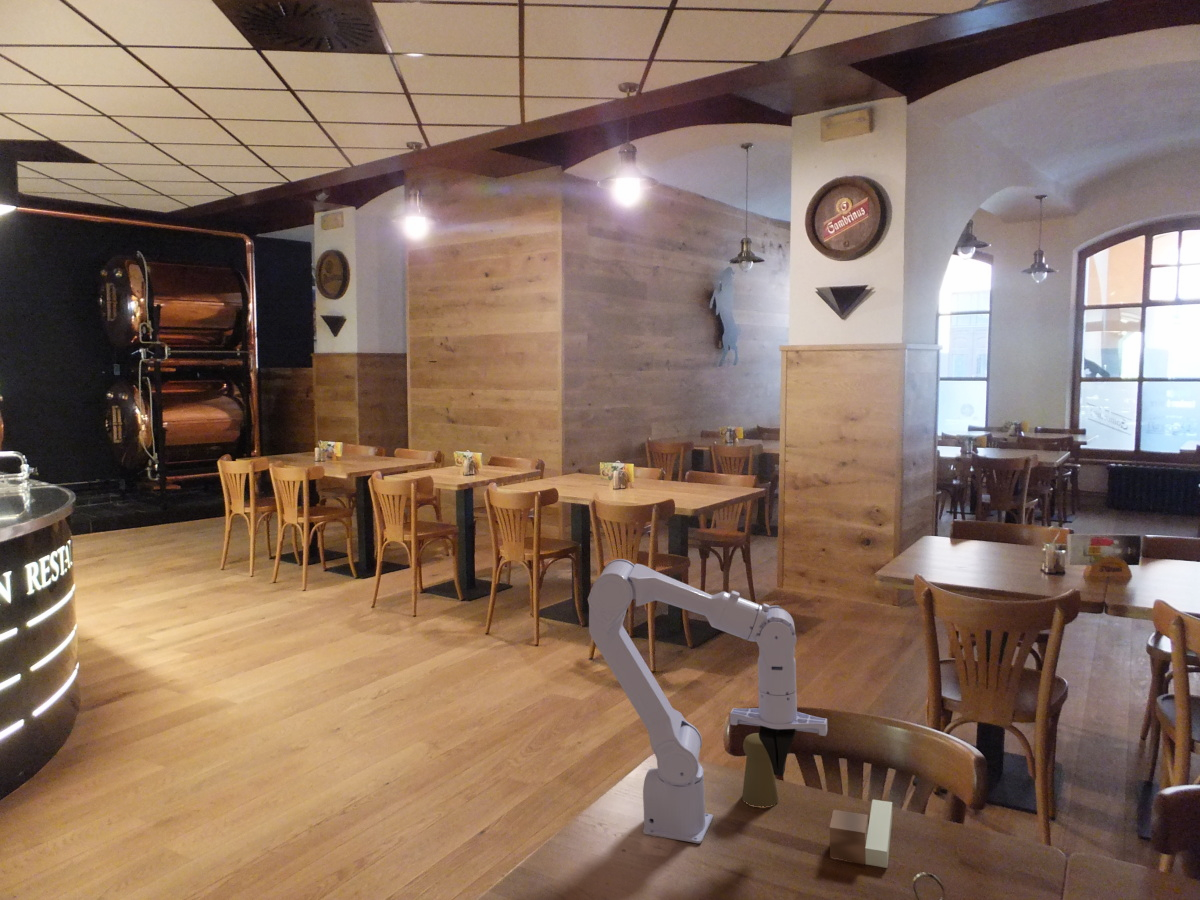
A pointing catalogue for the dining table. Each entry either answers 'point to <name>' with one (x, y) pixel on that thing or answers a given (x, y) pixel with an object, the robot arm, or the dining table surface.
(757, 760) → the cork
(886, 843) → the cream rectangular bar
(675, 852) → the dining table surface
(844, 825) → the walnut block
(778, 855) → the dining table surface
